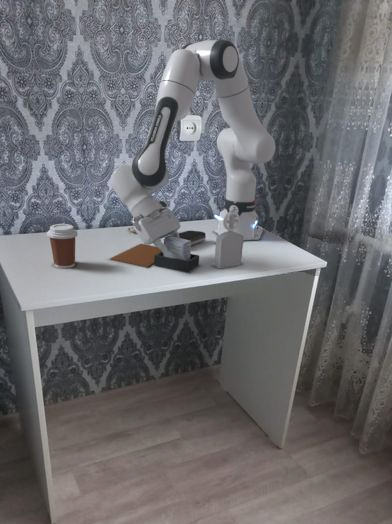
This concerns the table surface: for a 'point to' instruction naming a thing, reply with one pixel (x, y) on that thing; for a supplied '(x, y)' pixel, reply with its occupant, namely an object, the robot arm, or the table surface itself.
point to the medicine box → (178, 248)
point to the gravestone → (229, 243)
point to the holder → (176, 262)
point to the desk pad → (138, 255)
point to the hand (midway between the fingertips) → (173, 247)
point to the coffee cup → (63, 244)
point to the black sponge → (192, 236)
